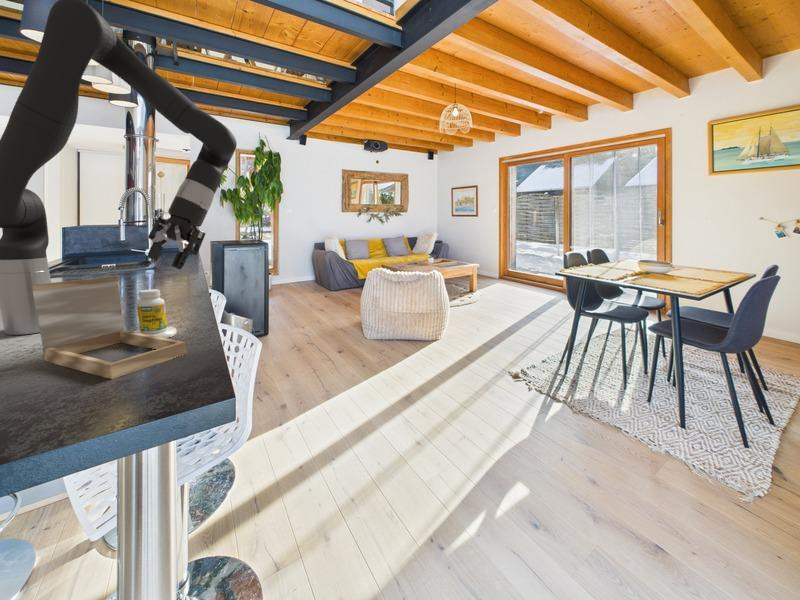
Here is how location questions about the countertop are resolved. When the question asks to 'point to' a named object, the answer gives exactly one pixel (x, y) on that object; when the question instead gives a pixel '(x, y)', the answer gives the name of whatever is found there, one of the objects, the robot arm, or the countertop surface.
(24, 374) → the countertop surface
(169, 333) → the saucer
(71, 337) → the cold frame
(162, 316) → the supplement bottle
